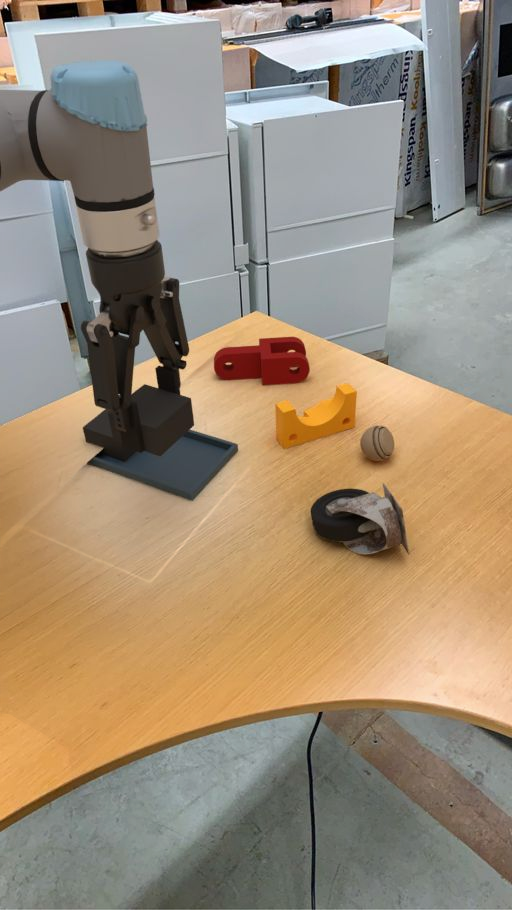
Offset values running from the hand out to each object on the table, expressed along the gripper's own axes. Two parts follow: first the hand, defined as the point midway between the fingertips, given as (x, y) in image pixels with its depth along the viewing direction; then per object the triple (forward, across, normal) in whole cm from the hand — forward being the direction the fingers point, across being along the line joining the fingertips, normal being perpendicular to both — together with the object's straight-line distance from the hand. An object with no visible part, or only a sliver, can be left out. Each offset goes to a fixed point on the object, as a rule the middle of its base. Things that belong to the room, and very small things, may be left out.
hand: (153, 430), depth 79 cm
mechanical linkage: (+13, +35, +6) cm, 38 cm away
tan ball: (+13, +23, -20) cm, 33 cm away
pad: (+12, +8, +15) cm, 21 cm away
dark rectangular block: (0, 0, 0) cm, 0 cm away
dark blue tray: (+13, +8, +8) cm, 17 cm away
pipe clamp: (+13, +25, -9) cm, 30 cm away
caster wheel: (+13, +7, -24) cm, 28 cm away
